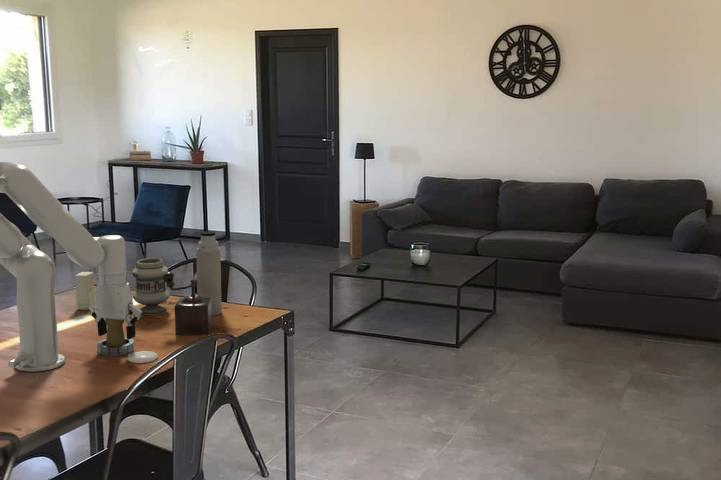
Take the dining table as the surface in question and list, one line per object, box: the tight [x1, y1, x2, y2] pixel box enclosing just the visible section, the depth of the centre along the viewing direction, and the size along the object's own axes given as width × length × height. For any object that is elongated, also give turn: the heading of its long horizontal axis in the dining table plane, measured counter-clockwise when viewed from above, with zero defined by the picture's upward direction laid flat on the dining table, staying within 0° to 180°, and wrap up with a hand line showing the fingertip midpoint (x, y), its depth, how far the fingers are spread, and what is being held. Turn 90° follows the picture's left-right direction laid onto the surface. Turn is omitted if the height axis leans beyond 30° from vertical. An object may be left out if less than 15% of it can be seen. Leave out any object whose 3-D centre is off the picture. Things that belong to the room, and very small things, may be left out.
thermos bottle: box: [195, 231, 223, 316], centre depth 256 cm, size 8×8×28 cm
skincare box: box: [74, 271, 96, 311], centre depth 262 cm, size 6×4×12 cm
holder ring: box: [96, 336, 135, 357], centre depth 218 cm, size 10×10×2 cm
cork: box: [104, 319, 126, 347], centre depth 218 cm, size 6×6×11 cm
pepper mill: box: [162, 271, 213, 336], centre depth 238 cm, size 16×11×18 cm
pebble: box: [127, 350, 158, 364], centre depth 212 cm, size 8×8×1 cm
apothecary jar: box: [131, 257, 171, 316], centre depth 258 cm, size 12×12×18 cm
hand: (116, 336), depth 218 cm, fingers open, 9 cm apart
